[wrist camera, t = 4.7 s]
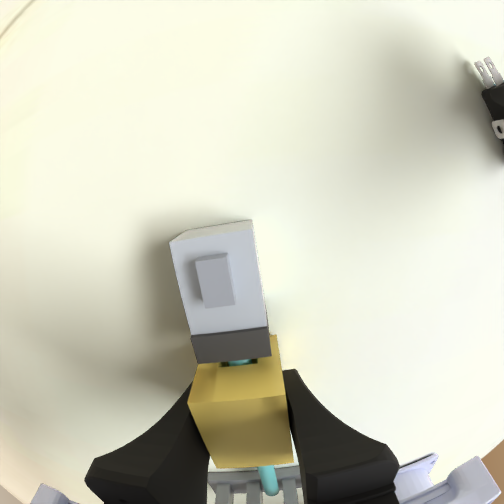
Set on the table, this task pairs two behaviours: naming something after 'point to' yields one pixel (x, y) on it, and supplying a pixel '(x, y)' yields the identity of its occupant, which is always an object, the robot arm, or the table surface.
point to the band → (232, 345)
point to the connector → (220, 278)
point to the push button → (493, 96)
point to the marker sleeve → (243, 412)
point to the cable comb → (253, 485)
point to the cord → (265, 472)
